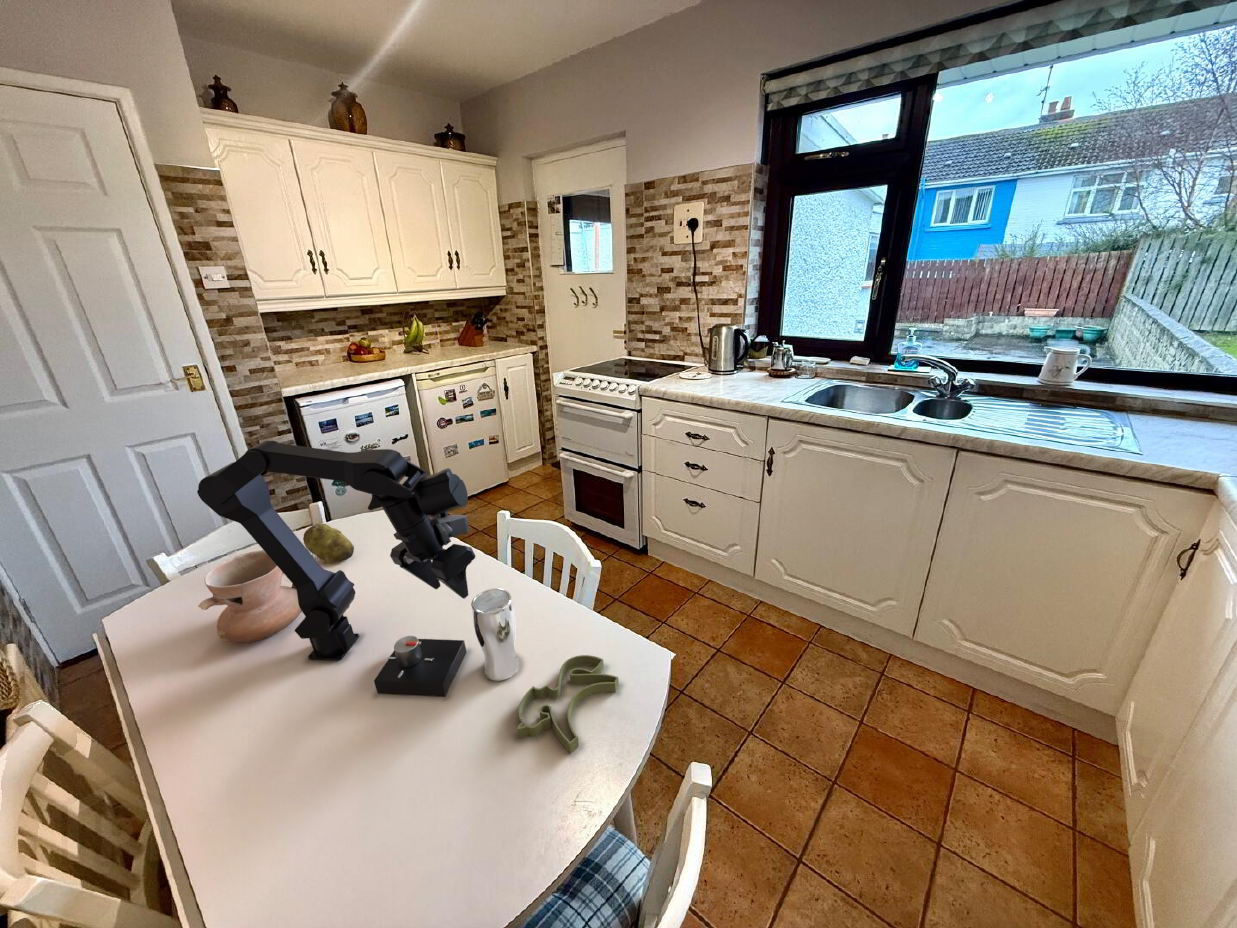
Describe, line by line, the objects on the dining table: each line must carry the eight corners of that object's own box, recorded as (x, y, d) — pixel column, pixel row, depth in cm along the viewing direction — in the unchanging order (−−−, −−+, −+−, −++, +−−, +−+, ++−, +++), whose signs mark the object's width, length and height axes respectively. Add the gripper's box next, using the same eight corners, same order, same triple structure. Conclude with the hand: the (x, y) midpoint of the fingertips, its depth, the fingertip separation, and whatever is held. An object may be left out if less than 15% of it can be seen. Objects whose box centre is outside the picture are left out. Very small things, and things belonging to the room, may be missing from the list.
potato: (323, 573, 115) (314, 545, 112) (304, 554, 123) (295, 527, 120) (359, 558, 121) (351, 530, 117) (339, 540, 129) (331, 514, 125)
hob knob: (393, 667, 84) (388, 650, 82) (404, 650, 88) (400, 633, 86) (415, 668, 84) (411, 651, 82) (425, 650, 87) (421, 634, 86)
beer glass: (481, 686, 83) (468, 617, 77) (483, 656, 90) (471, 590, 84) (522, 678, 85) (512, 610, 79) (521, 650, 91) (512, 584, 85)
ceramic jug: (239, 665, 89) (211, 603, 84) (201, 639, 96) (173, 580, 90) (332, 607, 103) (314, 551, 98) (294, 588, 110) (275, 534, 104)
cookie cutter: (565, 765, 70) (564, 755, 69) (503, 728, 76) (502, 719, 75) (626, 678, 84) (626, 669, 83) (570, 653, 90) (570, 644, 89)
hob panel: (376, 694, 82) (372, 680, 81) (404, 650, 92) (401, 637, 90) (445, 696, 82) (442, 683, 80) (466, 652, 91) (464, 639, 89)
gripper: (479, 499, 82) (515, 571, 88) (423, 493, 94) (457, 557, 99) (424, 537, 74) (467, 614, 80) (370, 526, 86) (411, 594, 92)
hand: (451, 592), depth 88 cm, fingers open, 9 cm apart
